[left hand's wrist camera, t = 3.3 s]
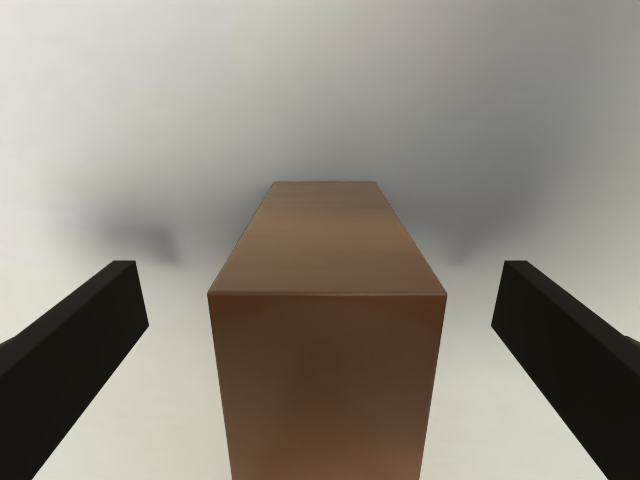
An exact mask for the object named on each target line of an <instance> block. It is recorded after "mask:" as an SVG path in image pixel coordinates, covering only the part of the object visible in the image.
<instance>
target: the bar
mask: <svg viewBox="0 0 640 480" xmlns="http://www.w3.org/2000/svg"><path fill="white" fill-rule="evenodd" d="M207 297H208V304H209V311H210V319H211V326H212V334H213V341H214V348H215V356H216V363H217V371H218V378H219V385H220V393H221V400H222V408H223V415H224V422H225V430H226V437H227V445H228V452H229V459H230V467H231V474H232V480H419V477H420V471H421V464H422V458H423V451H424V444H425V438H426V431H427V425H428V418H429V412H430V405H431V399H432V392H433V385H434V379H435V372H436V366H437V359H438V353H439V346H440V340H441V333H442V326H443V320H444V313H445V307H446V300H447V292H446V291H445V289H444V288H443V286H442V285H441V283H440V281H439V280H438V278H437V277H436V275H435V274H434V272H433V271H432V269H431V268H430V266H429V265H428V263H427V261H426V260H425V258H424V257H423V255H422V254H421V252H420V251H419V249H418V248H417V246H416V244H415V243H414V241H413V240H412V238H411V237H410V235H409V234H408V232H407V231H406V229H405V227H404V226H403V224H402V223H401V221H400V220H399V218H398V217H397V215H396V214H395V212H394V210H393V209H392V207H391V206H390V204H389V203H388V201H387V200H386V198H385V197H384V195H383V194H382V192H381V190H380V189H379V187H378V186H377V184H376V183H375V182H274V183H273V185H272V187H271V188H270V190H269V192H268V193H267V195H266V196H265V198H264V200H263V201H262V203H261V205H260V206H259V208H258V210H257V211H256V213H255V215H254V216H253V218H252V220H251V221H250V223H249V225H248V226H247V228H246V229H245V231H244V233H243V234H242V236H241V238H240V239H239V241H238V243H237V244H236V246H235V248H234V249H233V251H232V253H231V254H230V256H229V257H228V259H227V261H226V262H225V264H224V266H223V267H222V269H221V271H220V272H219V274H218V276H217V277H216V279H215V281H214V282H213V284H212V286H211V287H210V289H209V290H208V293H207Z"/></svg>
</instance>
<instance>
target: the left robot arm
mask: <svg viewBox="0 0 640 480" xmlns="http://www.w3.org/2000/svg"><path fill="white" fill-rule="evenodd" d="M148 327H149V323H148V318H147V314H146V309H145V304H144V299H143V295H142V290H141V285H140V281H139V276H138V271H137V267H136V262H135V261H112V262H111V263H110V264H109V265H107V266H106V267H105V268H103V269H102V270H101V271H99V272H98V273H97V274H96V275H94V276H93V277H92V278H90V279H89V280H88V281H86V282H85V283H84V284H83V285H81V286H80V287H79V288H77V289H76V290H75V291H73V292H72V293H71V294H70V295H68V296H67V297H66V298H64V299H63V300H62V301H60V302H59V303H58V304H57V305H55V306H54V307H53V308H51V309H50V310H49V311H47V312H46V313H45V314H44V315H42V316H41V317H40V318H38V319H37V320H36V321H35V322H33V323H32V324H31V325H29V326H28V327H27V328H25V329H24V330H23V331H22V332H20V333H19V334H18V335H16V336H15V337H13V338H11V339H9V340H7V341H5V342H3V343H1V344H0V480H32V479H33V477H34V476H35V475H36V473H37V472H38V471H39V470H40V468H41V467H42V466H43V464H44V463H45V462H46V460H47V459H48V458H49V456H50V455H51V454H52V452H53V451H54V450H55V449H56V447H57V446H58V445H59V443H60V442H61V441H62V439H63V438H64V437H65V435H66V434H67V433H68V432H69V430H70V429H71V428H72V426H73V425H74V424H75V422H76V421H77V420H78V418H79V417H80V416H81V414H82V413H83V412H84V411H85V409H86V408H87V407H88V405H89V404H90V403H91V401H92V400H93V399H94V397H95V396H96V395H97V393H98V392H99V391H100V390H101V388H102V387H103V386H104V384H105V383H106V382H107V380H108V379H109V378H110V376H111V375H112V374H113V372H114V371H115V370H116V369H117V367H118V366H119V365H120V363H121V362H122V361H123V359H124V358H125V357H126V355H127V354H128V353H129V352H130V350H131V349H132V348H133V346H134V345H135V344H136V342H137V341H138V340H139V338H140V337H141V336H142V334H143V333H144V332H145V331H146V329H147V328H148ZM491 327H492V328H493V329H494V331H495V332H496V333H497V334H498V336H499V337H500V338H501V340H502V341H503V342H504V344H505V345H506V346H507V348H508V349H509V350H510V352H511V353H512V354H513V355H514V357H515V358H516V359H517V361H518V362H519V363H520V365H521V366H522V367H523V369H524V370H525V371H526V372H527V374H528V375H529V376H530V378H531V379H532V380H533V382H534V383H535V384H536V386H537V387H538V388H539V390H540V391H541V392H542V393H543V395H544V396H545V397H546V399H547V400H548V401H549V403H550V404H551V405H552V407H553V408H554V409H555V411H556V412H557V413H558V414H559V416H560V417H561V418H562V420H563V421H564V422H565V424H566V425H567V426H568V428H569V429H570V430H571V432H572V433H573V434H574V435H575V437H576V438H577V439H578V441H579V442H580V443H581V445H582V446H583V447H584V449H585V450H586V451H587V452H588V454H589V455H590V456H591V458H592V459H593V460H594V462H595V463H596V464H597V466H598V467H599V468H600V470H601V471H602V472H603V473H604V475H605V476H606V477H607V479H608V480H640V342H638V341H636V340H634V339H632V338H630V337H628V336H624V335H622V334H621V333H620V332H618V331H617V330H616V329H615V328H613V327H612V326H611V325H609V324H608V323H607V322H605V321H604V320H603V319H602V318H600V317H599V316H598V315H596V314H595V313H594V312H593V311H591V310H590V309H589V308H587V307H586V306H585V305H583V304H582V303H581V302H580V301H578V300H577V299H576V298H574V297H573V296H572V295H570V294H569V293H568V292H567V291H565V290H564V289H563V288H561V287H560V286H559V285H557V284H556V283H555V282H554V281H552V280H551V279H550V278H548V277H547V276H546V275H544V274H543V273H542V272H541V271H539V270H538V269H537V268H535V267H534V266H533V265H531V264H530V263H529V262H528V261H505V262H504V267H503V271H502V276H501V281H500V285H499V290H498V295H497V299H496V304H495V309H494V314H493V318H492V323H491Z"/></svg>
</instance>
